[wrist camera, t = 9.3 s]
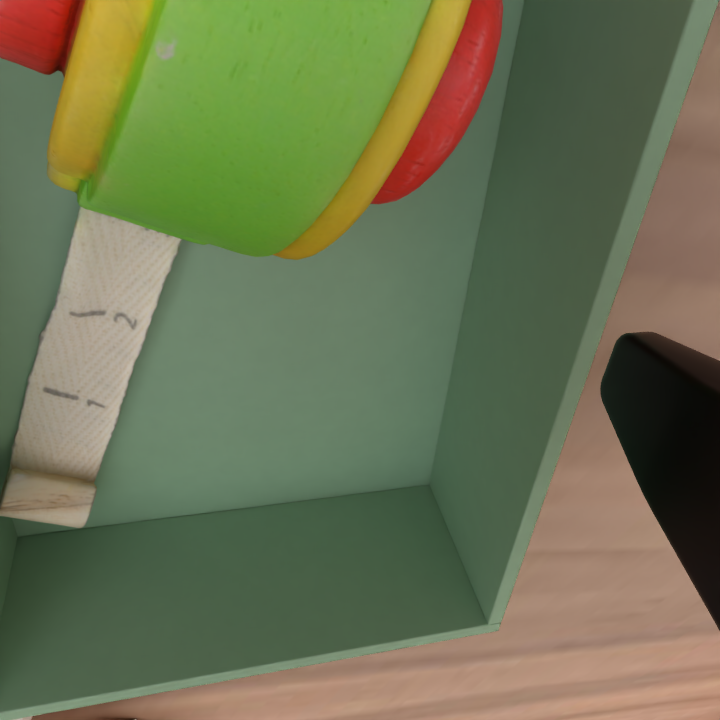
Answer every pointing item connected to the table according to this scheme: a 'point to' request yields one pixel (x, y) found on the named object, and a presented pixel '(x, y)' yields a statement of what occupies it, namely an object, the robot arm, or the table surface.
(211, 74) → the toy measuring tape
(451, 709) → the table surface
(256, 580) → the tray
